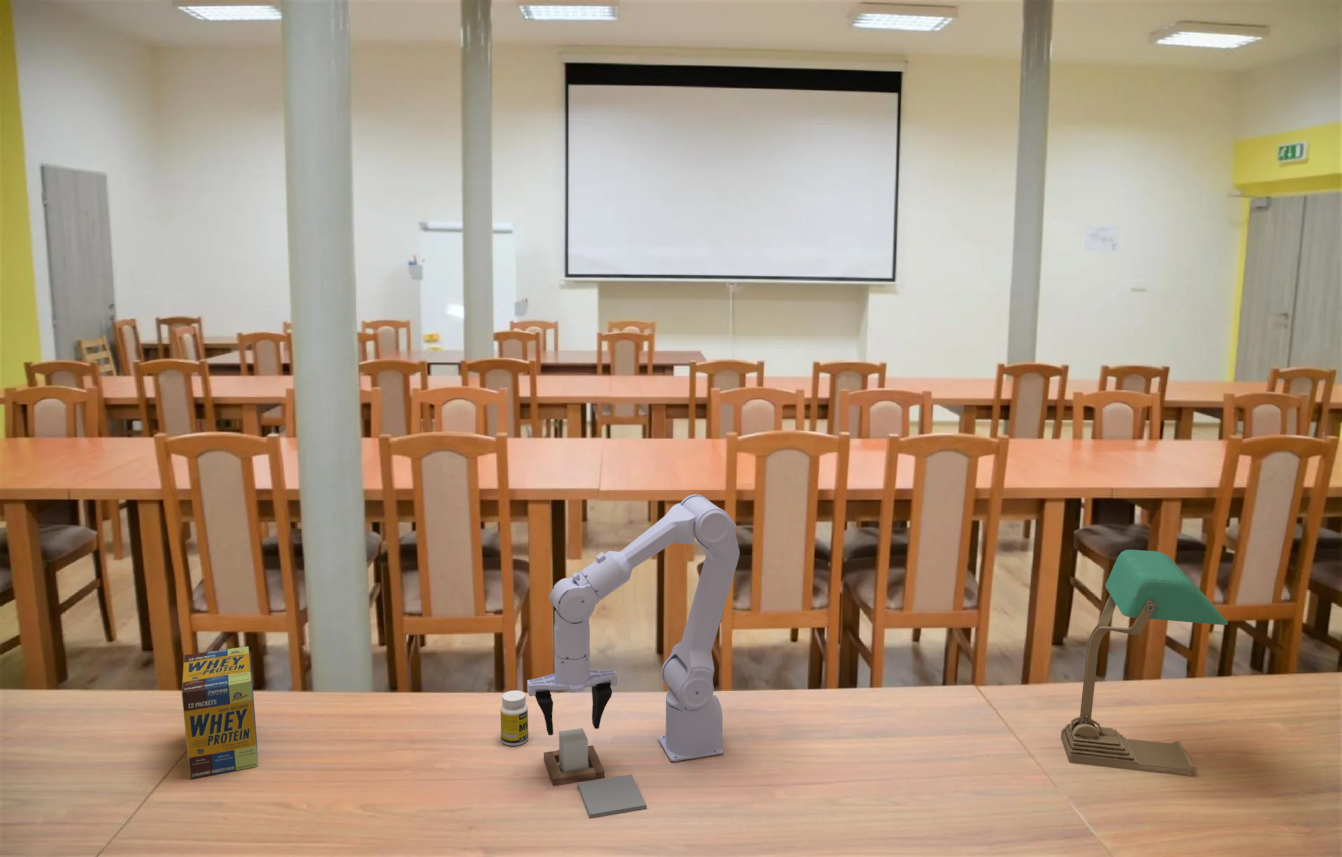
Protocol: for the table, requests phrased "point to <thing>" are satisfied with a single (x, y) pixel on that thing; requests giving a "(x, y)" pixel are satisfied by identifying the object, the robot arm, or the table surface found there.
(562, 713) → the table surface
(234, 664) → the protein box
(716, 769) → the table surface
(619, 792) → the coaster
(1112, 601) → the banker's lamp
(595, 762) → the holder
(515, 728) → the supplement bottle
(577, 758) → the block
